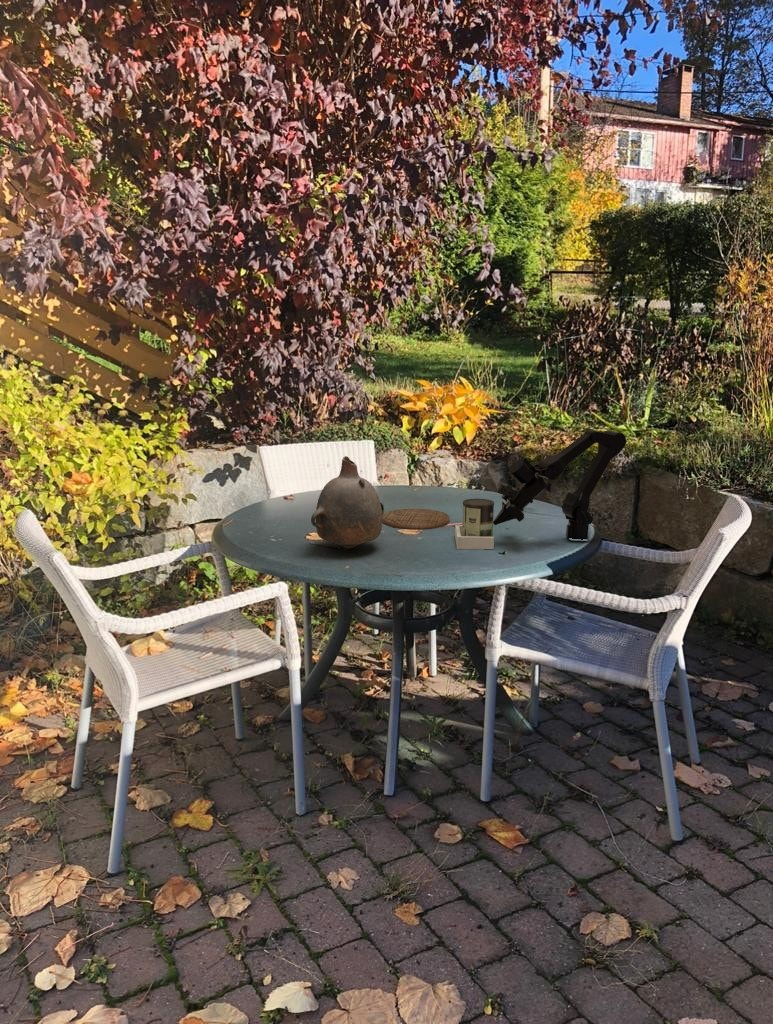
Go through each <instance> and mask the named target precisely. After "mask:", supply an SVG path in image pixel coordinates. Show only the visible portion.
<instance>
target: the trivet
mask: <svg viewBox="0 0 773 1024" xmlns="http://www.w3.org/2000/svg"><path fill="white" fill-rule="evenodd" d="M449 524H450V515H449V514H447V513H446V512H444V511H440V510H434V509H430V508H429V509H428V508H427V509H426V508H401V509H394V510H389V511H387V512H384V514H383V516H382V525H385V526H387V527H390V528H391V527H392V528H395V529H402V530H409V531H410V530H412V531H413V530H414V531H416V530H418V531H421V530H434V529H439V528H443V527H445V526H447V525H449Z"/></svg>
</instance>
